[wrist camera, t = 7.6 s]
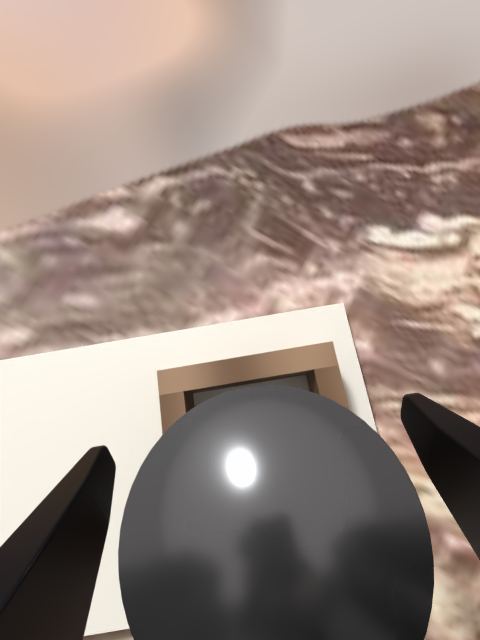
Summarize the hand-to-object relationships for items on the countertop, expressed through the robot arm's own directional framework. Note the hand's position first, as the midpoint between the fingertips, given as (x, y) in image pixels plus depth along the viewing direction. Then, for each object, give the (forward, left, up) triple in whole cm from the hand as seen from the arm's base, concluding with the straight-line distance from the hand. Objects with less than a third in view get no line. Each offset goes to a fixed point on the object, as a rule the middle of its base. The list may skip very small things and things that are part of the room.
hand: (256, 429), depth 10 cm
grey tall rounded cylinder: (-1, +1, -8) cm, 8 cm away
